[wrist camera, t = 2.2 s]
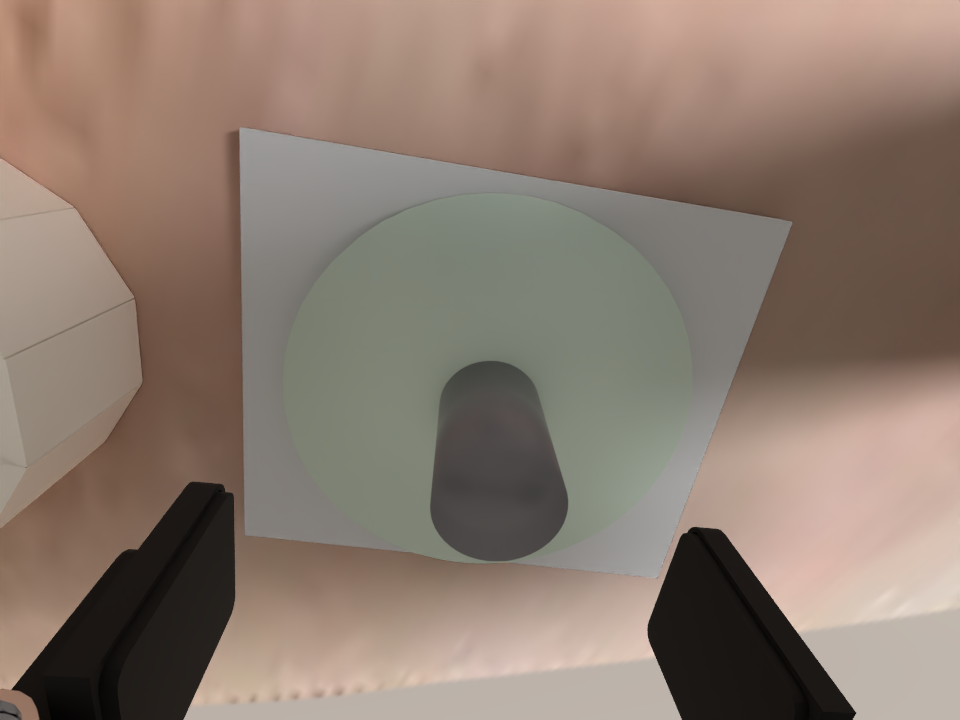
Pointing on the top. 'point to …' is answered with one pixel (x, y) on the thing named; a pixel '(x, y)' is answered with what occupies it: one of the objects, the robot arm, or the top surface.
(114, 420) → the bowl
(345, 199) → the mat
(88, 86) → the top surface
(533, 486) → the lid
